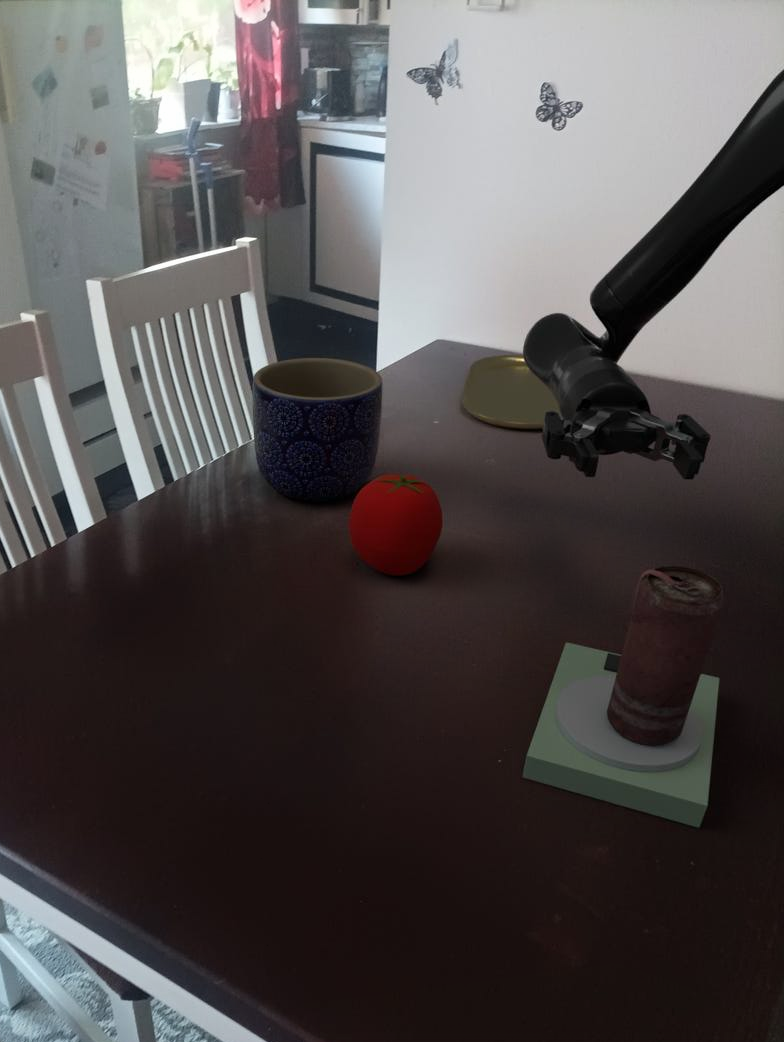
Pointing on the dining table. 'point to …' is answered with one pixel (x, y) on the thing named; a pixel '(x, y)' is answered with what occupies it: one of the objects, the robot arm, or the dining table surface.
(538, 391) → the serving platter
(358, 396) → the planter
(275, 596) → the dining table surface
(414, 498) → the tomato
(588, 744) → the scale
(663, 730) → the can
